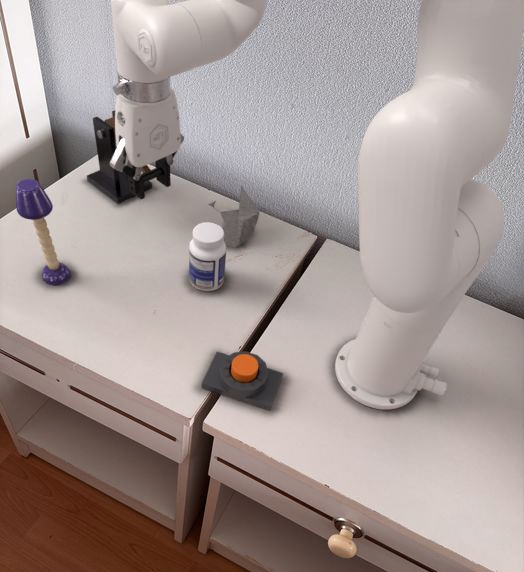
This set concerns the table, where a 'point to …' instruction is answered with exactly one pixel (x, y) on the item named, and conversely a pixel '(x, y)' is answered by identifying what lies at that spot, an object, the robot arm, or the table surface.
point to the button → (244, 368)
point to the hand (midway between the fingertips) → (150, 188)
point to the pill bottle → (207, 257)
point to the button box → (252, 392)
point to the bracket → (107, 176)
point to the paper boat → (239, 221)
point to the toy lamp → (40, 227)
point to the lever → (146, 170)
